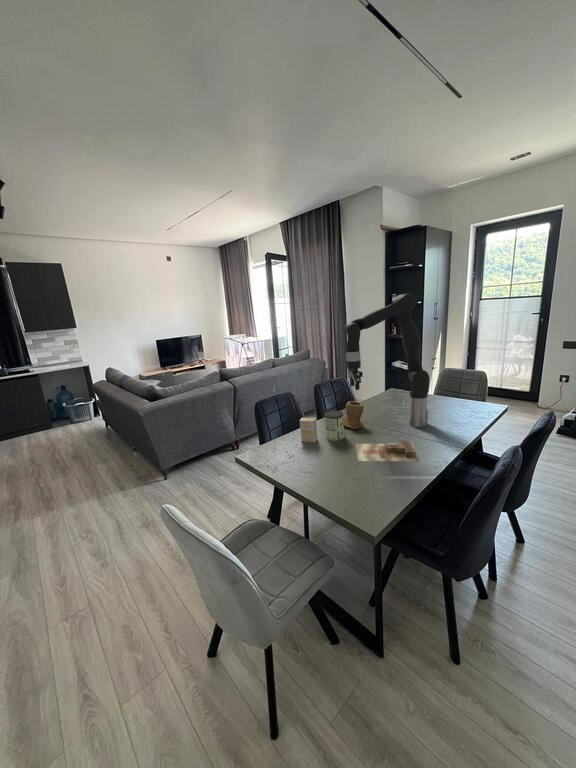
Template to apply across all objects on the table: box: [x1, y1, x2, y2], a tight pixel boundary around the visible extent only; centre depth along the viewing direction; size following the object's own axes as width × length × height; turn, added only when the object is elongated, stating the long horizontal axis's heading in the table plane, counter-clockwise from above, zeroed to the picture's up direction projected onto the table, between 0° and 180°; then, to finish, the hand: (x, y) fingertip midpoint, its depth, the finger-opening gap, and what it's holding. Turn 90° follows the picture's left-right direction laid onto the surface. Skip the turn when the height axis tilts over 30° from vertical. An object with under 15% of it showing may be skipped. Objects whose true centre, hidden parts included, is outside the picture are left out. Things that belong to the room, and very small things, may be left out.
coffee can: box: [324, 410, 345, 442], centre depth 171 cm, size 10×10×14 cm
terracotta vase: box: [343, 400, 364, 430], centre depth 185 cm, size 15×12×15 cm
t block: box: [385, 440, 415, 458], centre depth 148 cm, size 12×12×3 cm
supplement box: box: [299, 417, 319, 444], centre depth 169 cm, size 8×5×13 cm, turn 65°
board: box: [355, 442, 422, 462], centre depth 150 cm, size 28×18×1 cm, turn 81°
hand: (354, 387), depth 172 cm, fingers open, 8 cm apart
